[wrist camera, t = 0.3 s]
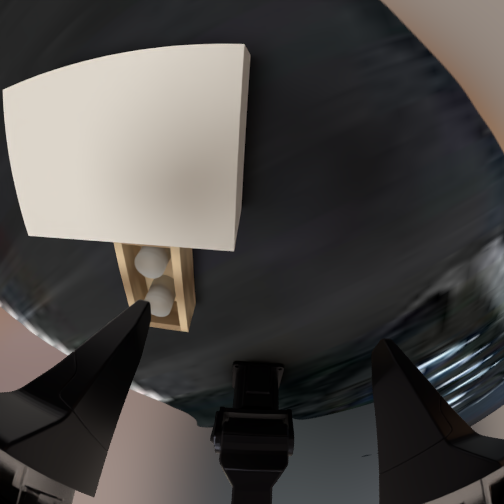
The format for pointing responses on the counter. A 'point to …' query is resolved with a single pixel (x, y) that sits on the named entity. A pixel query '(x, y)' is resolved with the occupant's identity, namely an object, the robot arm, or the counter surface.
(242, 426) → the robot arm
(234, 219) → the shelf
